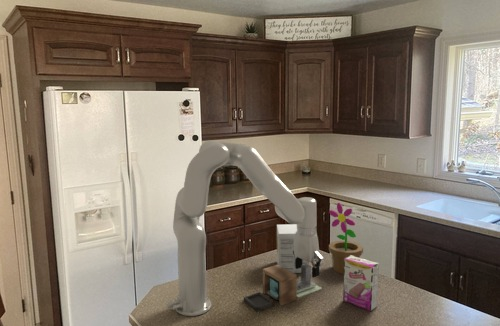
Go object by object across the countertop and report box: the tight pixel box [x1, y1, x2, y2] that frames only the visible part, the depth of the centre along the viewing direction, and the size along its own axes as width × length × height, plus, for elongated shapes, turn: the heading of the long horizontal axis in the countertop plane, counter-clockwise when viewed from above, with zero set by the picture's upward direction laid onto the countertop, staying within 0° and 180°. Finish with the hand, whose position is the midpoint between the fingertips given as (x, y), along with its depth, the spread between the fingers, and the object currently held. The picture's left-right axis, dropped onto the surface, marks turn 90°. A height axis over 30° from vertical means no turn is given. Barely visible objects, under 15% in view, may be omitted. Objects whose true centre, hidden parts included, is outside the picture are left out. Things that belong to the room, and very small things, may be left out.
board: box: [297, 284, 323, 299], centre depth 155 cm, size 12×10×1 cm
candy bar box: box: [342, 255, 380, 312], centre depth 142 cm, size 11×5×16 cm, turn 47°
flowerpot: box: [328, 202, 364, 275], centre depth 170 cm, size 14×14×30 cm
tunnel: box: [262, 264, 298, 306], centre depth 149 cm, size 7×11×10 cm, turn 33°
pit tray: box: [243, 291, 275, 312], centre depth 144 cm, size 7×9×2 cm
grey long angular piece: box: [266, 264, 317, 301], centre depth 152 cm, size 19×6×8 cm, turn 123°
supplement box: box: [276, 223, 310, 274], centre depth 174 cm, size 13×13×18 cm
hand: (307, 272), depth 156 cm, fingers open, 9 cm apart
